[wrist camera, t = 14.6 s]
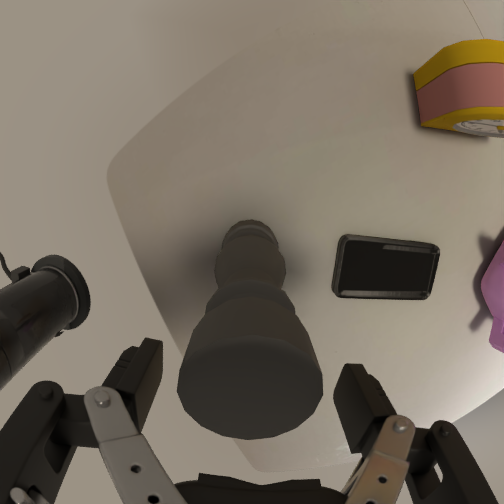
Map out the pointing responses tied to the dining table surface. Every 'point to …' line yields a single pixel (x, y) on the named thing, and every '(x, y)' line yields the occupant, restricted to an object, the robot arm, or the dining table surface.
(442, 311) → the dining table surface
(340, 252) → the phone
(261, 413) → the candle holder
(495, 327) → the teapot
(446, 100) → the alarm clock
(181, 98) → the dining table surface
